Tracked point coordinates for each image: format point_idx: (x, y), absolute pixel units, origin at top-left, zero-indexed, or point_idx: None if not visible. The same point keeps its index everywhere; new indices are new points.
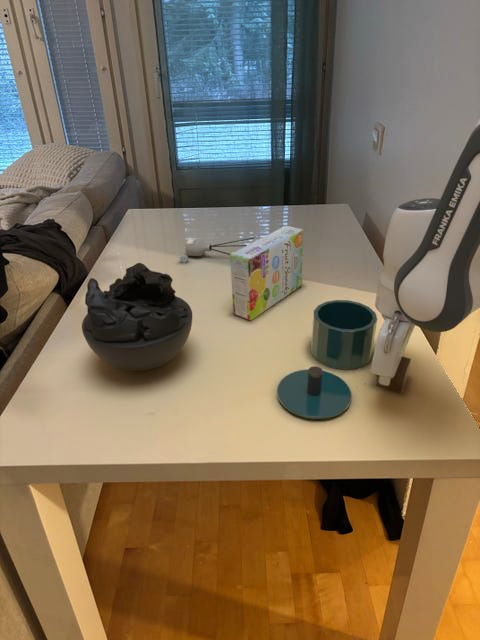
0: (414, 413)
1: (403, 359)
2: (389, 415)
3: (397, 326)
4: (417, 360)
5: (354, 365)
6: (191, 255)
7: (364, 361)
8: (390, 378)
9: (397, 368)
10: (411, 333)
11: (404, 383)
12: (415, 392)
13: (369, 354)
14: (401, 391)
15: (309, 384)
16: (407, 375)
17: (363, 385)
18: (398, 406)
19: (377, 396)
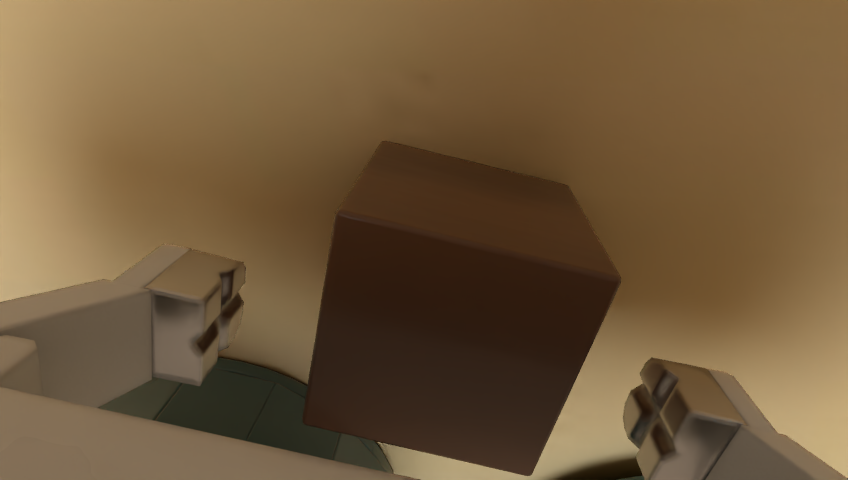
0: (811, 99)
1: (383, 287)
2: (822, 267)
3: None
4: (100, 41)
5: (370, 461)
6: None
7: None
8: (770, 426)
9: (560, 347)
10: (22, 460)
11: (498, 178)
12: (544, 79)
13: (259, 422)
14: (570, 191)
15: None
16: (388, 151)
17: None
18: (725, 209)
19: (623, 329)
